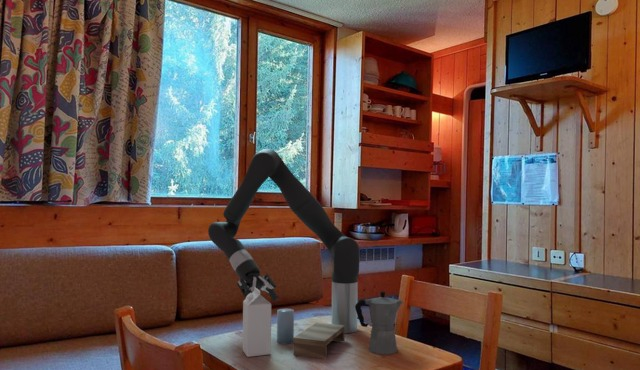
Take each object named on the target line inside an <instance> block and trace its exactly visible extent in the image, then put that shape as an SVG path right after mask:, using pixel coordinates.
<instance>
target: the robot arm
mask: <svg viewBox="0 0 640 370" xmlns="http://www.w3.org/2000/svg"><path fill="white" fill-rule="evenodd" d="M268 178H269V179H271V181H272V182H273V183H274V184H275V185H276V186H277V188H278V189H279V190H280V192H281V194H282V196H283V198H284V200H285V202H286V204H287V205H288V207H289V208H290V210H291V211H292V212H293V214H294V215H295V216H296V217H297V218H298V219H299V220H300V221H301V222H302V223H303V224H304V225H305V226H306V227H307V228H308V229H309V230H311V232H312V233H313V234H314V235H316V236H317V237H318V238H319V240H320V241H321V242H322V243H323V245H324V246H325V247H326V249H327V250H328V252H329V253H330V254H331V256H332V258H333V272H332V273H331V324H335V325H345V334H353V333H356V332H357V331H358V315H357V312H356V309H355V305H356V304H357V303H358V277H359V273H360V247H359V245H358V242H357V241H356V240H355V239H354V238H351V237H348V236H347V235H345V234H344V233H343V232H342V231H341V230H340V229H339V228H338V227H337V226H336V225H335V224H334V223H333V221H332V220H331V219H330V217H329V215H328V214H327V212H326V210H325V208H324V207H323V206H322V204H321V203H320V202H319V200H318V199H317V198H316V197H315V196H314V195H313V194H312V193H311V192H310V190H308V189H307V188H306V187H305V186H306V185H304V184H303V183H302V182H301V181H300V180H299V179H298V178H297V177H296V176H295V175H294V174H293V173H292V171H291V170H290V168H289V167H288V166H287V164H286V163H285V162H284V160H283V158H282V157H281V155H279V153H278V152H277V151H275V150H274V149H271V148H263V149H261V150H259V151H257V152H256V153H255V154H254V155H253V157H252V158H251V161H250V163H249V166H248V169H247V171H246V174H245V176H244V177H243V180H242V182H241V183H240V184H239V187H238V189H237V190H236V191H235V193H234V194H233V196H232V198H230V200H229V202H228V204H227V205H226V207H225V209H224V210H223V214H222V215H223V218H225V221H214V222H212V223H210V225H209V226H208V229H207V232H208V237H209V239H210V240H211V241H212V243H213V244H214V245H215V246H216V247H218V249H219V250H220V251H222V252H223V253H224V255H225V256H226V259H227V260H228V261H229V263H230V265H231V267H232V269H233V270H234V271H235V273H236V275H237V277H238V278H239V279H238V281H237V283H236V285H237V287H238V289H240V292H241V293H242V295H243V297H245V298H246V297H247V295H248V294H250V293H252V292H253V291H254V287H255V288H257V289H258V290H260V291H262V292H263V291H264V292H266V293H268V296H269V297H270V299H271V300H272V301H273V302H276V301H278V300H279V296H278V294H277V293H276V291H275V289H276V287H277V285H276V283H275V282H274V280H273V279H272V277H271V276H270V275H269V274H268V273H266V274H265V275H261V273H260V272H261V271H260V267H259V266H258V265H257V263H256V262H255V260H254V258H253V257H252V255H251V254H250V253H249V252H248V251H247V249H246V248H245V246H244V245H243V243H242V241H240V240H239V239H237V238H235V237H236V236H237V234H238V231H239V228H240V224H241V220H242V219H243V217H244V216H245V215H246V212H247V211H248V210H249V208H250V207H251V204H252V203H253V201H254V197H255V196H256V194H257V192H258V191H259V190H260V188H261V186H262V185H263V184H264V183H265V181H267V180H268Z"/></svg>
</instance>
